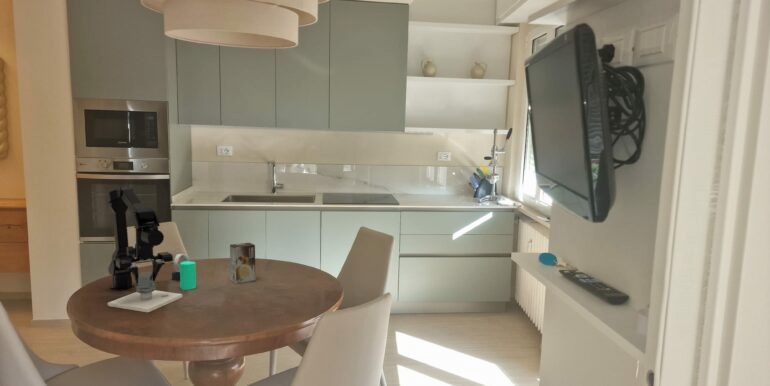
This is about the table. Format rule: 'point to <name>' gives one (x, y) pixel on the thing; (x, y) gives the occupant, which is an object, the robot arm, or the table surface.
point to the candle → (187, 275)
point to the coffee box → (242, 262)
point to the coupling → (145, 282)
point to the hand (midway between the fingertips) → (145, 282)
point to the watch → (180, 259)
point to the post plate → (145, 300)
